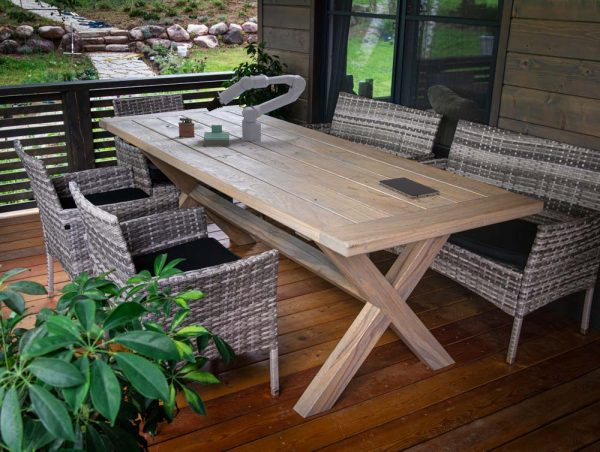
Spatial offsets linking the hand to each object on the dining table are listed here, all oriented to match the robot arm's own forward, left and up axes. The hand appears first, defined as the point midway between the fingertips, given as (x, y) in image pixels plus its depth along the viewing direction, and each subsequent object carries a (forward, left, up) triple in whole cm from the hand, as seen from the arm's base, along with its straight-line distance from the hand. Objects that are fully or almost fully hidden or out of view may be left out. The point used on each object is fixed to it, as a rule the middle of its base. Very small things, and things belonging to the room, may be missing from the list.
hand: (207, 109), depth 310 cm
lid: (-4, +8, -12) cm, 15 cm away
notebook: (-77, +86, -16) cm, 116 cm away
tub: (-4, +8, -15) cm, 18 cm away
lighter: (+11, -6, -16) cm, 20 cm away
